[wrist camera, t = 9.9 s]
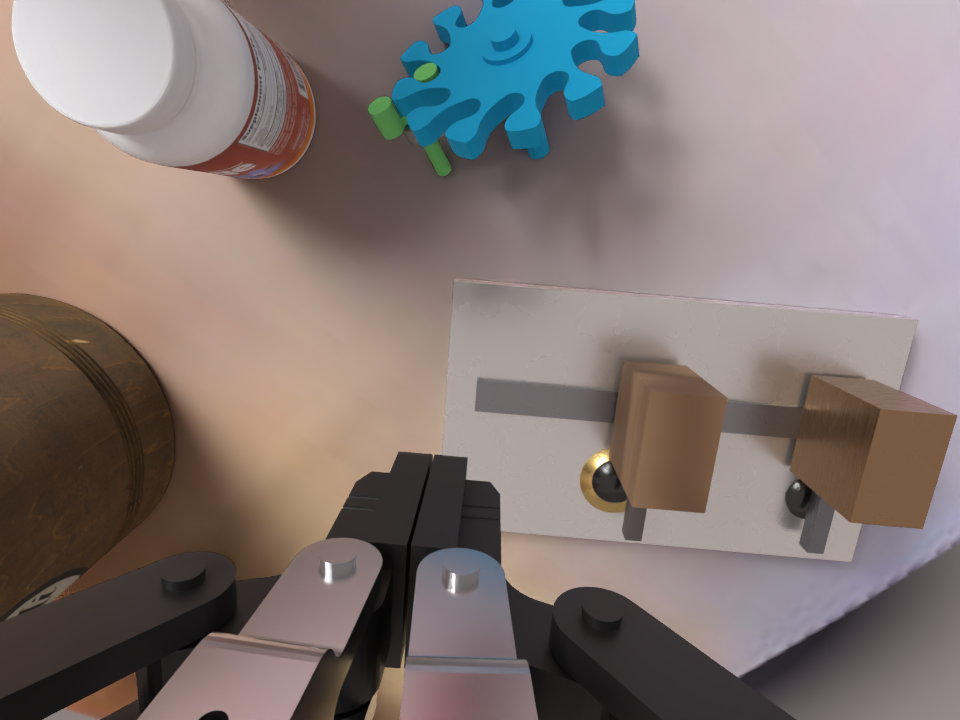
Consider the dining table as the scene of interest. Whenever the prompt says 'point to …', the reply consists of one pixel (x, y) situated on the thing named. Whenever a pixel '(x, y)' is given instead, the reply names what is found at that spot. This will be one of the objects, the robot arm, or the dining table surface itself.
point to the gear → (506, 73)
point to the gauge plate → (746, 426)
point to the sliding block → (664, 440)
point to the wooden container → (71, 446)
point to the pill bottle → (170, 81)
